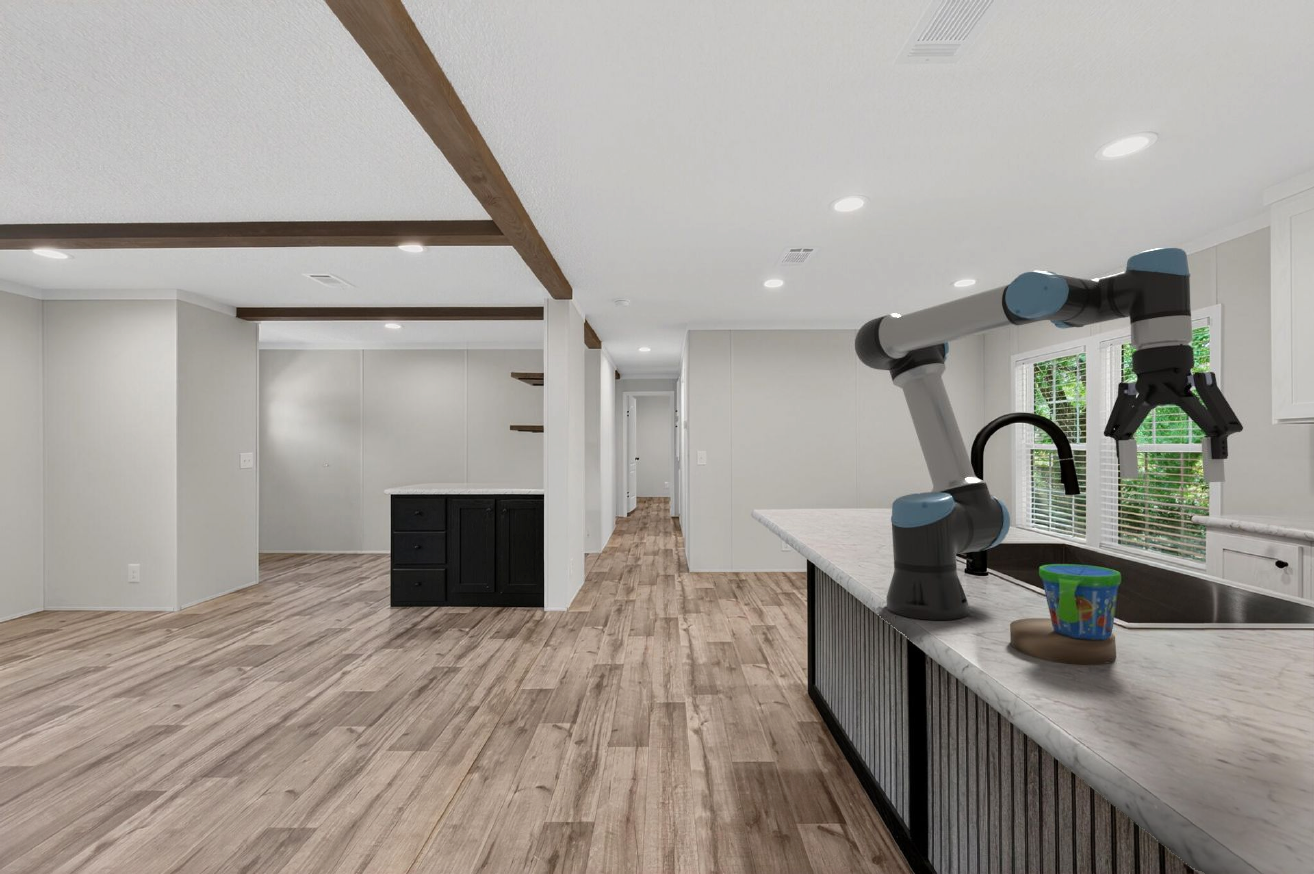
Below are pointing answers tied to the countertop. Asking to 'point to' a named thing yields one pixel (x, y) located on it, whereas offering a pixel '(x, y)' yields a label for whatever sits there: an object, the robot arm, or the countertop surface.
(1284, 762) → the countertop surface
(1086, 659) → the walnut pedestal
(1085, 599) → the snack cup
